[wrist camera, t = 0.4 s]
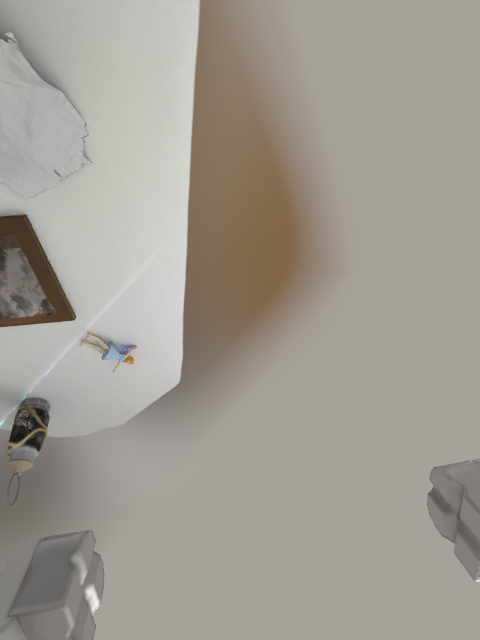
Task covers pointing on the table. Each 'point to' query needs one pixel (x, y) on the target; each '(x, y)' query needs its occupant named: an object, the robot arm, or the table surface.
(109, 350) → the fairy figurine
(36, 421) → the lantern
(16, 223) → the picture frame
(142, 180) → the table surface
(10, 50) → the paper
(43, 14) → the table surface
